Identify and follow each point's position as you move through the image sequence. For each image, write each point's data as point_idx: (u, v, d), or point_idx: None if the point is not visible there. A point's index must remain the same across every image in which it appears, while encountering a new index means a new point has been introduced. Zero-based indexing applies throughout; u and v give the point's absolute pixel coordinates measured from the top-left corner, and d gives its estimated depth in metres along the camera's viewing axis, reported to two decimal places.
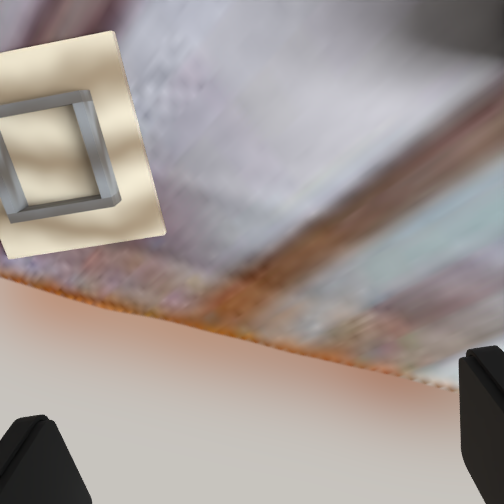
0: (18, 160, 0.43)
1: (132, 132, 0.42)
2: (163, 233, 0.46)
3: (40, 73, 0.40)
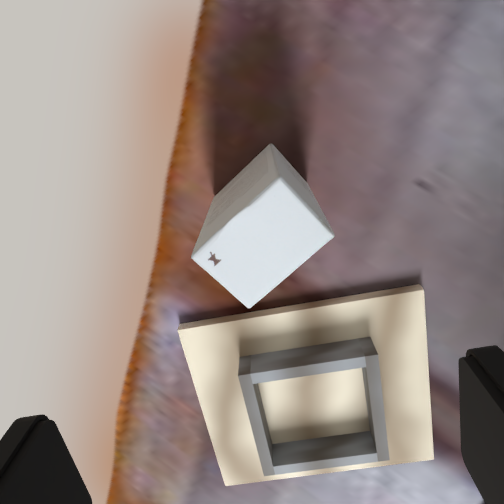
0: None
1: (336, 467, 0.40)
2: (226, 484, 0.41)
3: (402, 398, 0.37)
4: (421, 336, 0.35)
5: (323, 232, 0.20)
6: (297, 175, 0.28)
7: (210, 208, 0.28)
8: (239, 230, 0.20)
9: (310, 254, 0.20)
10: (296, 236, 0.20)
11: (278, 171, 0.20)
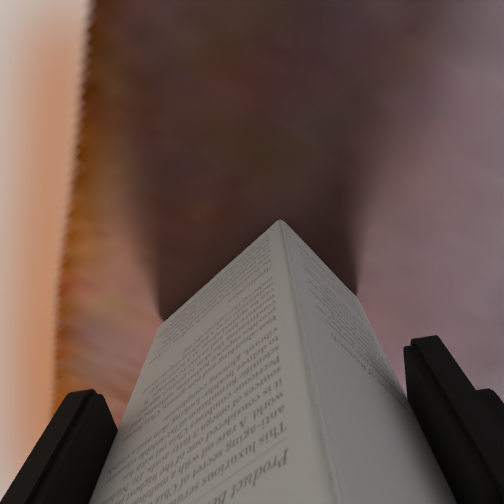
0: None
1: None
2: None
3: None
4: None
5: None
6: (349, 314, 0.11)
7: (134, 392, 0.11)
8: None
9: None
10: None
11: None
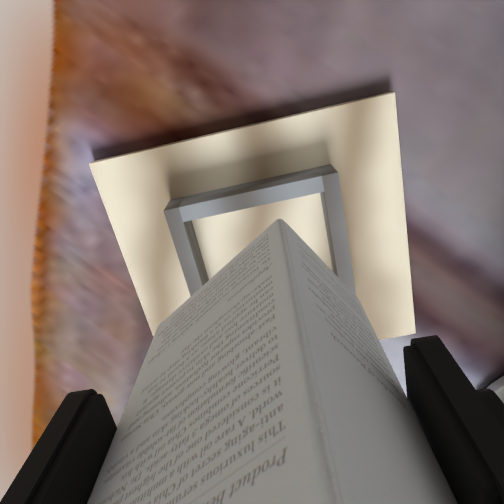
0: None
1: None
2: None
3: (375, 251, 0.30)
4: (394, 161, 0.28)
5: None
6: (349, 313, 0.11)
7: (133, 392, 0.11)
8: None
9: None
10: None
11: None
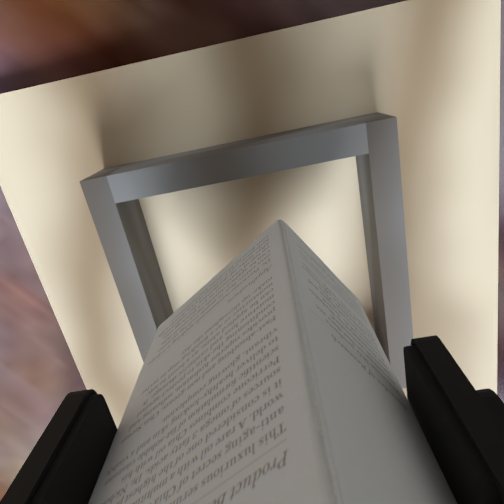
0: (251, 181, 0.17)
1: None
2: None
3: (442, 264, 0.18)
4: (488, 110, 0.16)
5: None
6: (349, 315, 0.11)
7: (134, 393, 0.11)
8: None
9: None
10: None
11: None
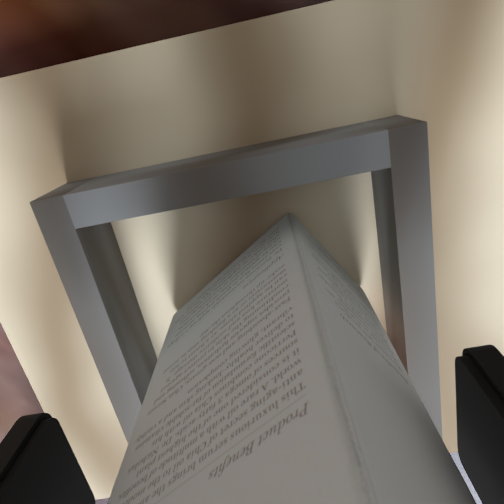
0: (244, 198, 0.14)
1: None
2: None
3: (471, 295, 0.15)
4: None
5: None
6: (354, 300, 0.12)
7: (155, 373, 0.12)
8: None
9: None
10: None
11: (368, 492, 0.05)
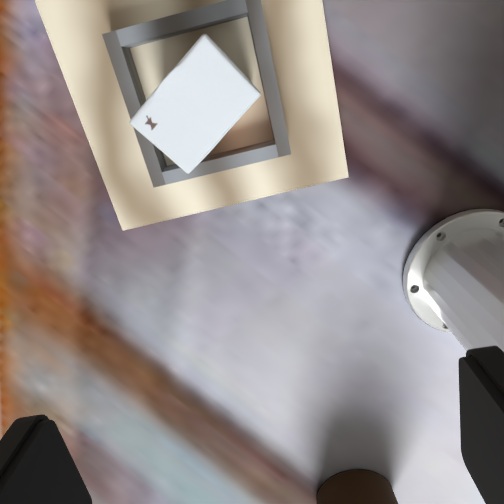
0: (194, 41, 0.31)
1: (243, 196, 0.36)
2: (124, 229, 0.37)
3: (304, 89, 0.33)
4: None
5: (250, 90, 0.22)
6: None
7: None
8: (172, 92, 0.22)
9: (239, 113, 0.22)
10: (225, 95, 0.22)
11: None
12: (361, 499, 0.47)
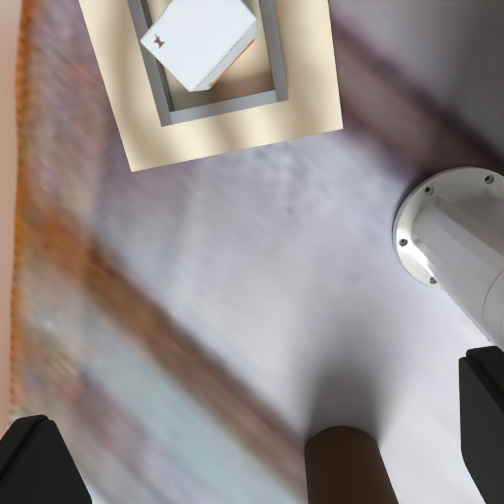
0: None
1: (244, 143, 0.39)
2: (133, 170, 0.40)
3: (304, 42, 0.36)
4: None
5: (247, 14, 0.25)
6: None
7: None
8: (178, 13, 0.25)
9: (237, 35, 0.25)
10: (225, 18, 0.25)
11: None
12: (346, 451, 0.49)
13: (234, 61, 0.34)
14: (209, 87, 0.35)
